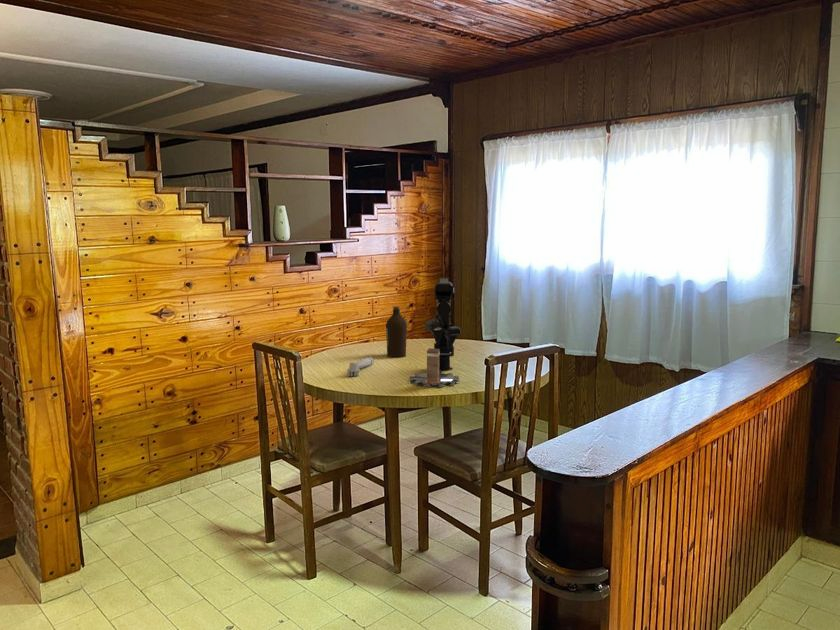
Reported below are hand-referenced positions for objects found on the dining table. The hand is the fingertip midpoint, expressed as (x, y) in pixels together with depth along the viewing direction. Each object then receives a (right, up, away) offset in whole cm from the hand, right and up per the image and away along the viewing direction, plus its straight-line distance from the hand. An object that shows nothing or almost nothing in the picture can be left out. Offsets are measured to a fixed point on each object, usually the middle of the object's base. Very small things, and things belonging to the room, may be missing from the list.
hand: (443, 347), depth 269 cm
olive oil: (-22, -7, +44) cm, 50 cm away
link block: (-5, -13, -11) cm, 17 cm away
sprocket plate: (-4, -14, -5) cm, 15 cm away
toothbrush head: (-37, -11, +14) cm, 41 cm away
